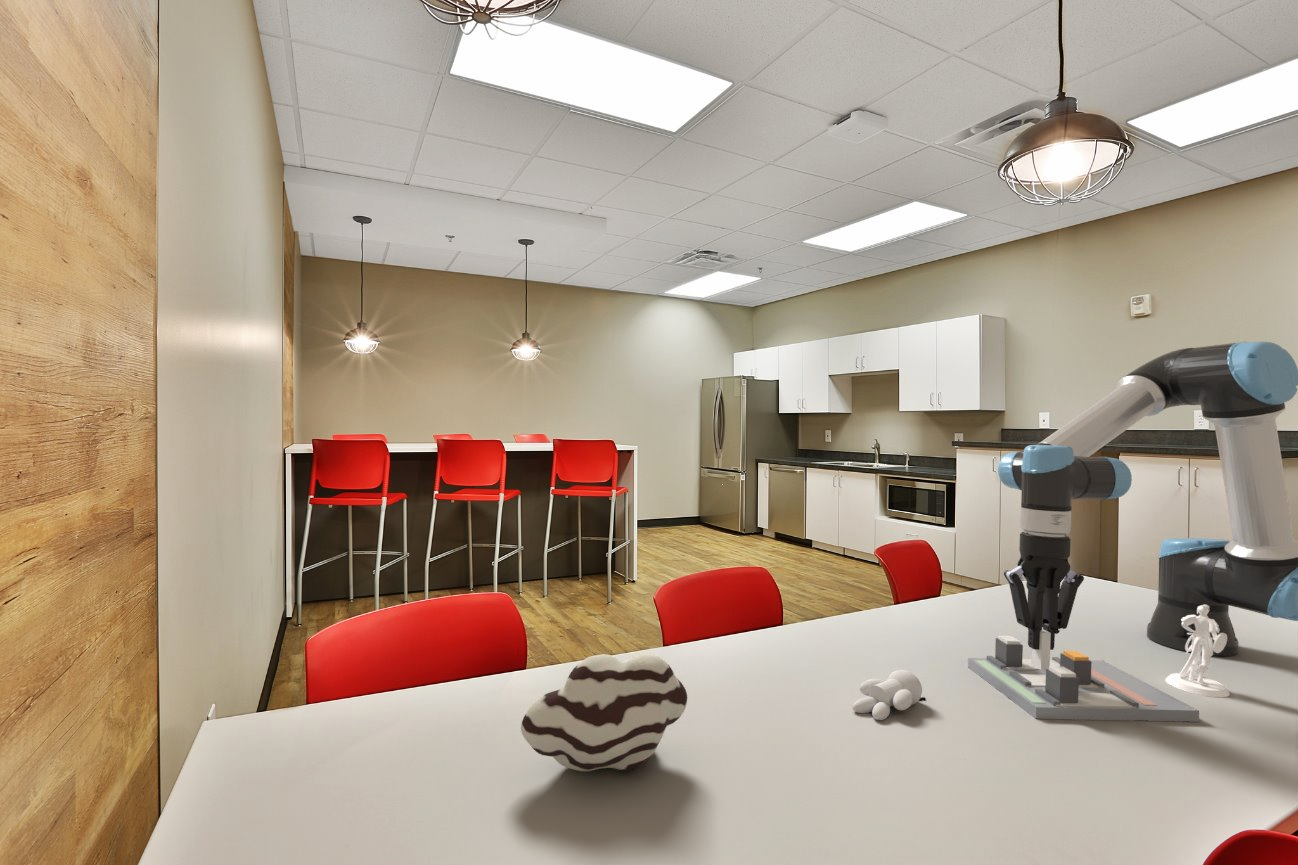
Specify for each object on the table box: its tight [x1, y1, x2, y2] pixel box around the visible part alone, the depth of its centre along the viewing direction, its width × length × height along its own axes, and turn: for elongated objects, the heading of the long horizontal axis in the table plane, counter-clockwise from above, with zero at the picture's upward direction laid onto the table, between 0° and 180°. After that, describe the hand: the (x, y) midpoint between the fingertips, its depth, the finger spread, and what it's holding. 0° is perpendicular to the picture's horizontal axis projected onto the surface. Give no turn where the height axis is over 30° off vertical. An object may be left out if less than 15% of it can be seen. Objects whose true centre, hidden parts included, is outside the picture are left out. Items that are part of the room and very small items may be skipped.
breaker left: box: [994, 635, 1024, 667], centre depth 117 cm, size 3×4×5 cm
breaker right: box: [1045, 666, 1079, 703], centre depth 102 cm, size 3×4×5 cm
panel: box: [967, 655, 1200, 723], centre depth 110 cm, size 26×21×2 cm
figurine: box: [1165, 605, 1231, 698], centre depth 114 cm, size 9×9×15 cm
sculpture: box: [520, 653, 688, 772], centre depth 82 cm, size 22×12×15 cm, turn 106°
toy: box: [852, 669, 927, 721], centre depth 103 cm, size 8×6×15 cm
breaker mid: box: [1059, 650, 1092, 684], centre depth 110 cm, size 3×4×5 cm
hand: (1040, 667), depth 110 cm, fingers closed
